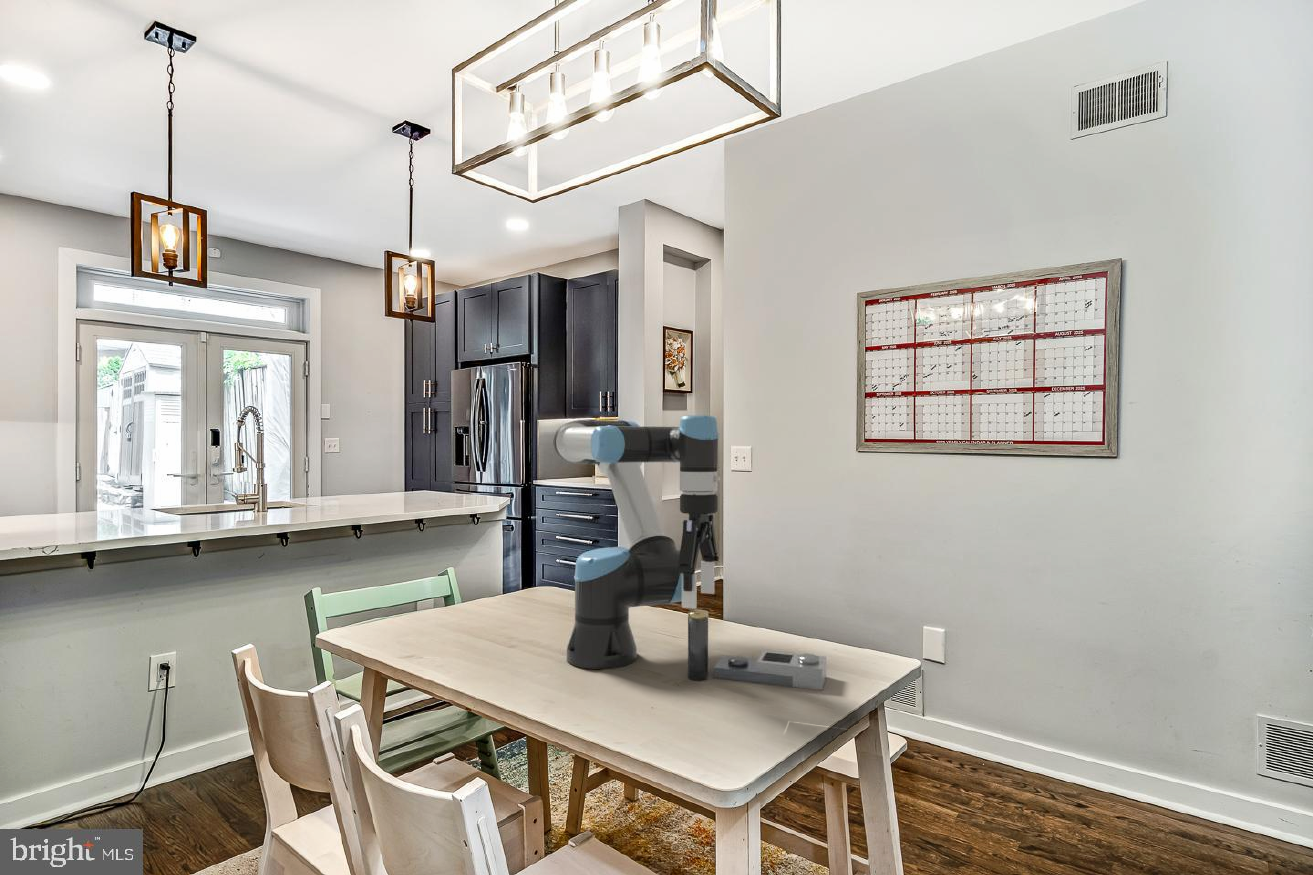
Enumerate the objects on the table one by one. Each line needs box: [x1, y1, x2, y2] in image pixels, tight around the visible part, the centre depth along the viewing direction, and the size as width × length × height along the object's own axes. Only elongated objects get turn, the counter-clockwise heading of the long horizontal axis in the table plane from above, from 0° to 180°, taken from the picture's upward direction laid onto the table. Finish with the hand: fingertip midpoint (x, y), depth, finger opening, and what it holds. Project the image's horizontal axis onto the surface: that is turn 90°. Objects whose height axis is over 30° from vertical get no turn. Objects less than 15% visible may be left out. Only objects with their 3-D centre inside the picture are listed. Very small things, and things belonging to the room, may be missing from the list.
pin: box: [687, 608, 709, 682], centre depth 136 cm, size 4×4×13 cm
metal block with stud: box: [713, 649, 827, 691], centre depth 136 cm, size 21×8×5 cm, turn 71°
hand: (698, 600), depth 135 cm, fingers open, 13 cm apart
